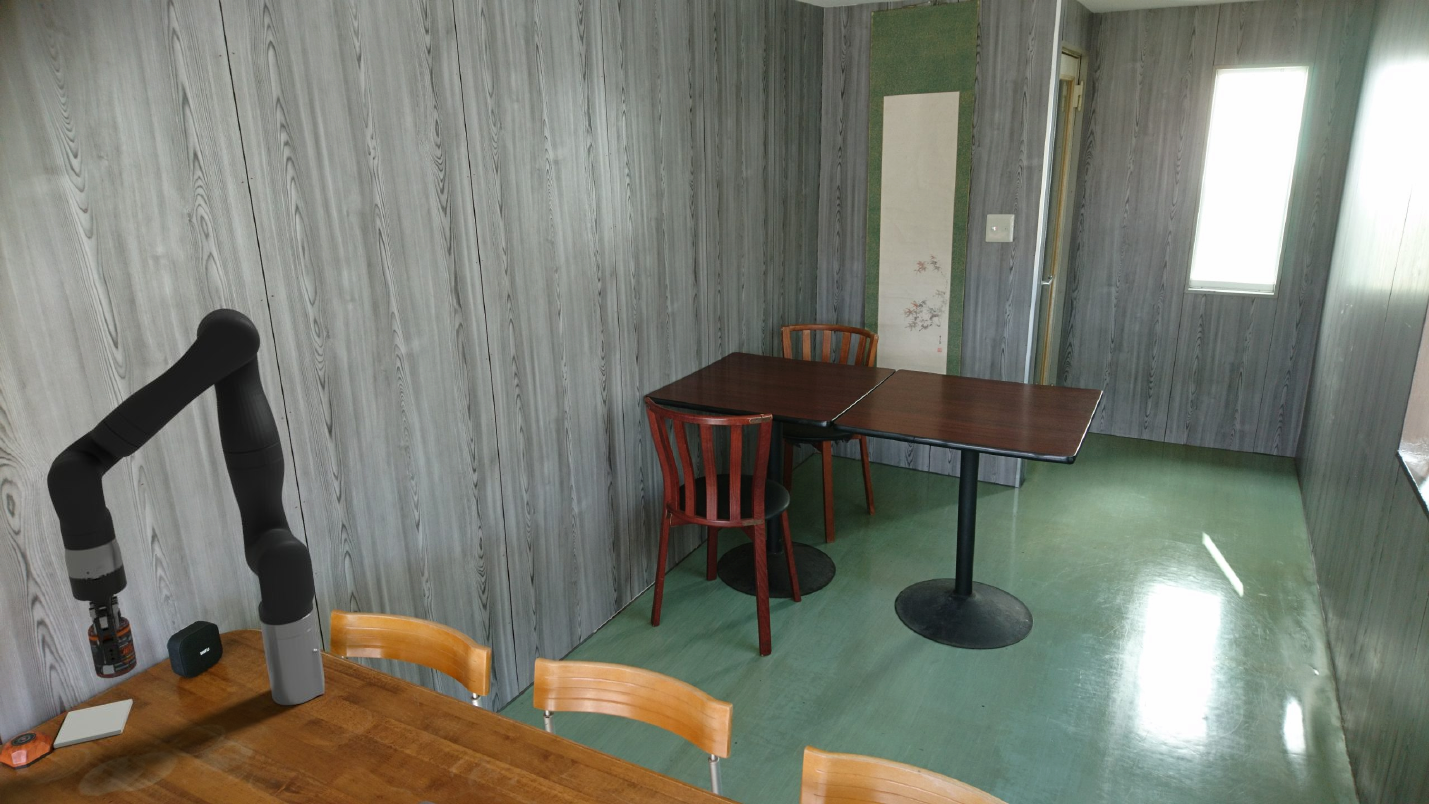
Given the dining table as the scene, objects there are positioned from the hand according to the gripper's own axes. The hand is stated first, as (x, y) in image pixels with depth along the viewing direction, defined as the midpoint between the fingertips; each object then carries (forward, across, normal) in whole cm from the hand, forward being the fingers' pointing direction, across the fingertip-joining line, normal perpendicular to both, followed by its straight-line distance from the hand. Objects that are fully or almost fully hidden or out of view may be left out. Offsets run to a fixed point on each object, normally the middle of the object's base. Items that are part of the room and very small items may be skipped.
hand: (114, 654), depth 146 cm
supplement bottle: (+3, 0, 0) cm, 3 cm away
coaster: (+18, -10, -6) cm, 21 cm away
